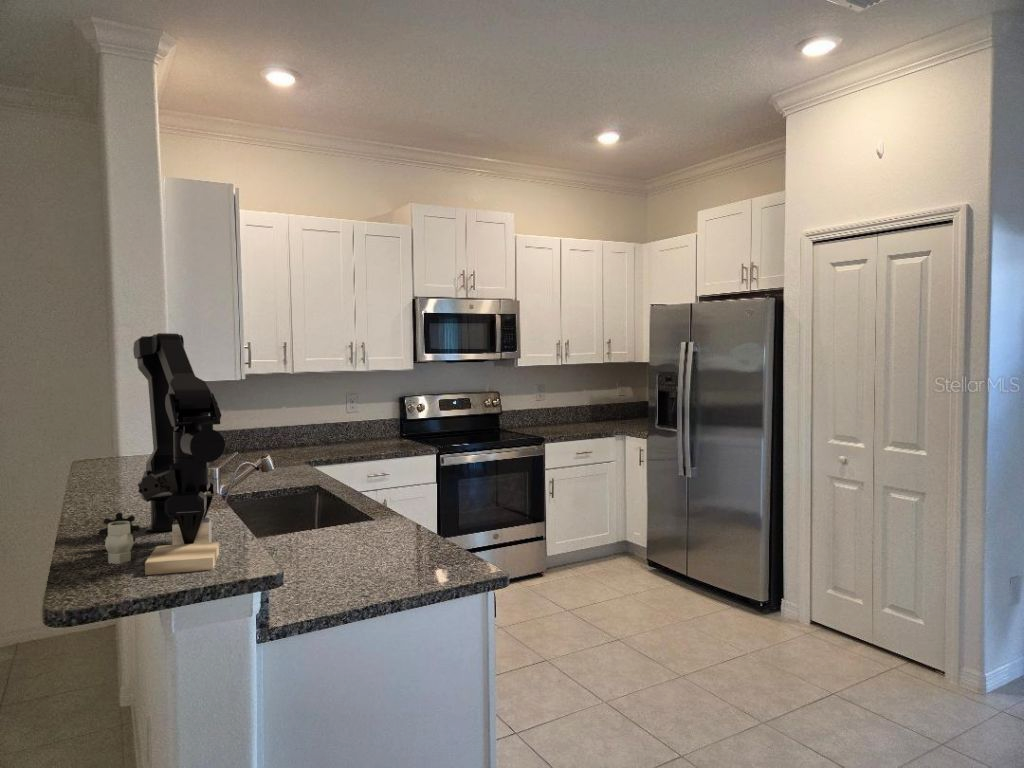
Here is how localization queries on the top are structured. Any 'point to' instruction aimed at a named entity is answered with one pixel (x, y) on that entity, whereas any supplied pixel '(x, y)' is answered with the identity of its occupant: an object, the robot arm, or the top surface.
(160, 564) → the oak plate
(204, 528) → the aluminium block
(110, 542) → the valve
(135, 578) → the top surface
